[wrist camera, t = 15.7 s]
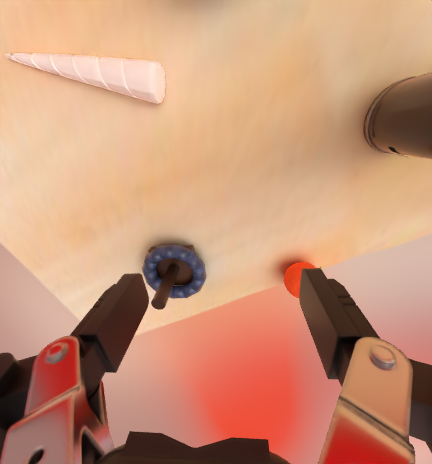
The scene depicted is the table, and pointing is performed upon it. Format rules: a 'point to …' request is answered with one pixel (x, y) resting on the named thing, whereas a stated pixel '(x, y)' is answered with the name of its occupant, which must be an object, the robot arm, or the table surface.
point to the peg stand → (170, 278)
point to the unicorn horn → (104, 72)
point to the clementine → (295, 277)
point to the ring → (182, 255)
